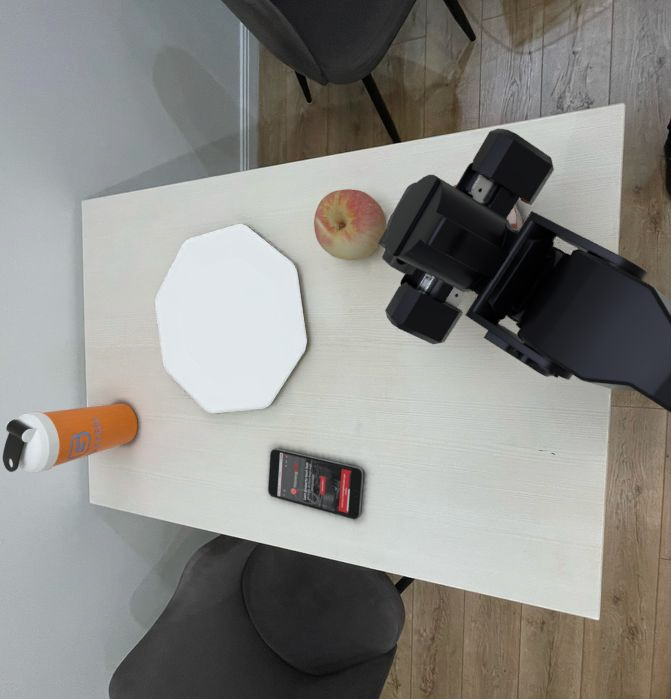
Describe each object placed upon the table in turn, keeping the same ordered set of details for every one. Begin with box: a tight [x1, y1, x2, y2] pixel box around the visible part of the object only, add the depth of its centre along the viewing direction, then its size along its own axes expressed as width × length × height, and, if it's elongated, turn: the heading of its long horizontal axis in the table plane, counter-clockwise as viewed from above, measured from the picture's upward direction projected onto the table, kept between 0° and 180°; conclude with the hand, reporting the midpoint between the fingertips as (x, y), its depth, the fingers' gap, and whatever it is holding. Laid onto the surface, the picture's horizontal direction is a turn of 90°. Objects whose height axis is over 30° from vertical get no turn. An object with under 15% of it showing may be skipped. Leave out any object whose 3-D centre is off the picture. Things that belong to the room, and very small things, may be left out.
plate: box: [154, 223, 309, 414], centre depth 82 cm, size 28×28×2 cm
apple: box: [313, 188, 387, 262], centre depth 68 cm, size 9×9×8 cm
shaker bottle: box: [2, 402, 139, 474], centre depth 86 cm, size 9×9×20 cm
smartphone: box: [267, 447, 365, 520], centre depth 77 cm, size 7×1×15 cm
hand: (432, 223), depth 55 cm, fingers closed on beverage can, 5 cm apart
